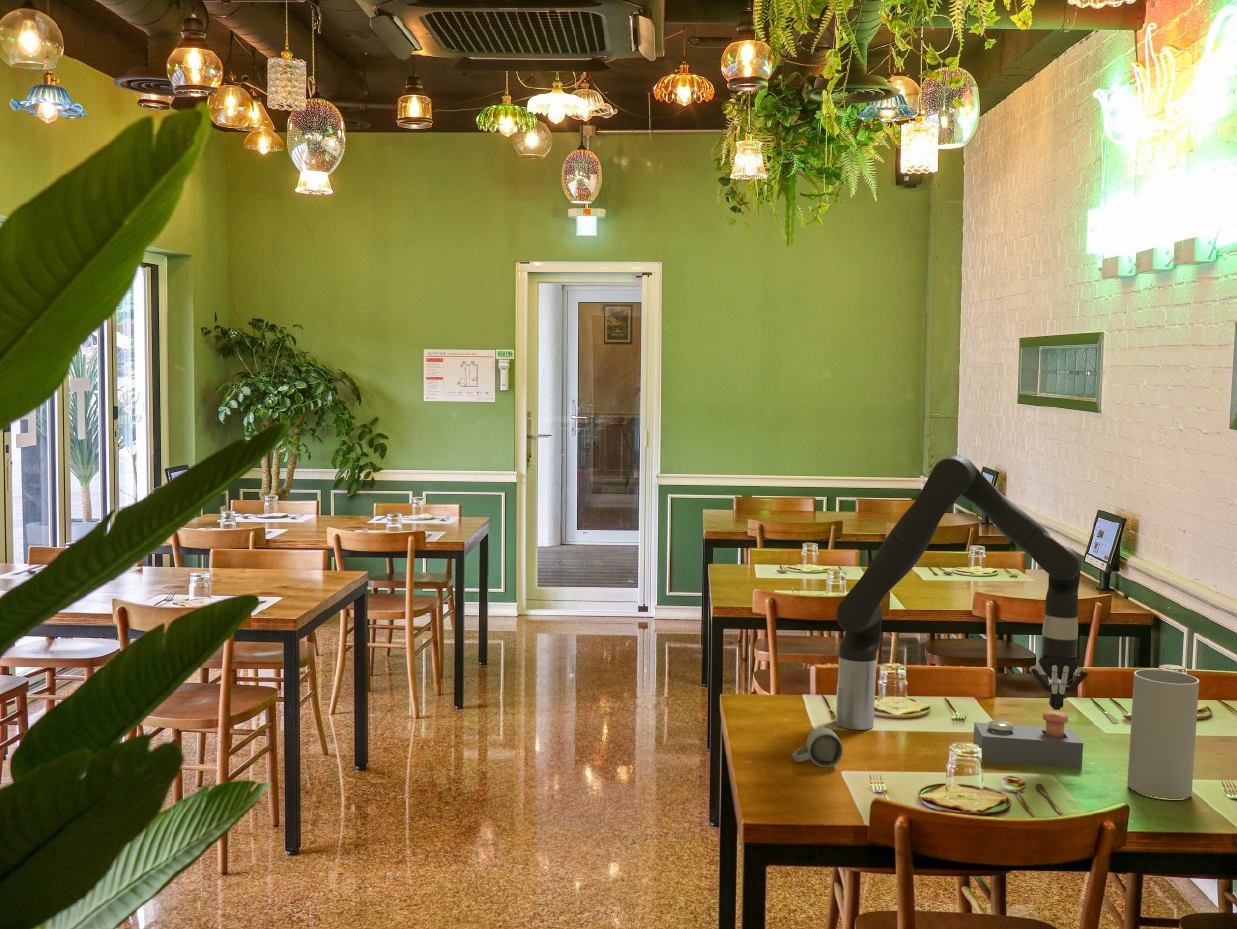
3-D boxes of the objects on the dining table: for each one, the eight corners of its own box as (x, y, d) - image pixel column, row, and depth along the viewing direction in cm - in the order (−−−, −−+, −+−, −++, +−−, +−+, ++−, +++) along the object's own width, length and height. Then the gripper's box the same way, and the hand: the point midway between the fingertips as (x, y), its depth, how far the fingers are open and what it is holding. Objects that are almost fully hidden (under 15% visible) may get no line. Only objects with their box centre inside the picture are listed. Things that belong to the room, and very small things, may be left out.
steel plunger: (989, 752, 264) (990, 726, 263) (984, 745, 269) (986, 719, 269) (1014, 754, 263) (1015, 728, 263) (1009, 747, 269) (1011, 721, 268)
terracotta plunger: (1044, 743, 262) (1045, 717, 262) (1038, 736, 268) (1040, 710, 267) (1069, 745, 261) (1071, 718, 261) (1063, 738, 267) (1065, 711, 266)
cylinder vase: (1114, 785, 249) (1121, 671, 247) (1156, 778, 254) (1163, 667, 252) (1161, 805, 237) (1169, 686, 235) (1205, 798, 242) (1212, 681, 240)
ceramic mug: (837, 756, 263) (837, 723, 262) (842, 768, 254) (843, 734, 254) (790, 755, 263) (791, 722, 262) (794, 767, 255) (795, 733, 254)
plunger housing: (981, 762, 262) (982, 736, 261) (973, 747, 272) (974, 722, 272) (1081, 769, 259) (1083, 743, 258) (1069, 754, 269) (1071, 728, 269)
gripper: (1033, 636, 260) (1029, 711, 261) (1094, 640, 258) (1090, 715, 259) (1026, 629, 267) (1022, 702, 268) (1085, 633, 265) (1081, 706, 267)
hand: (1056, 709), depth 264 cm, fingers closed
